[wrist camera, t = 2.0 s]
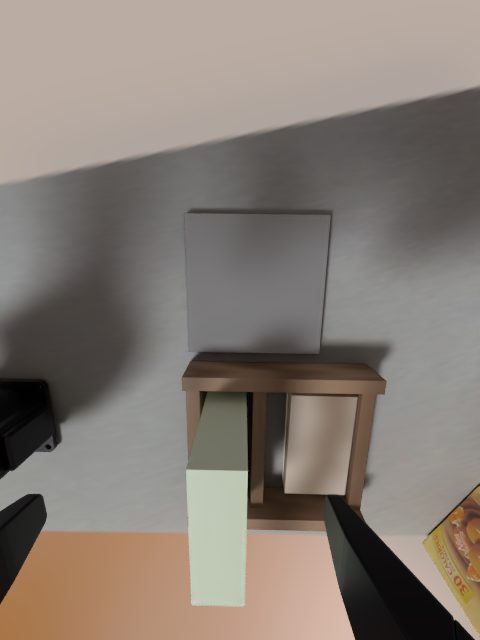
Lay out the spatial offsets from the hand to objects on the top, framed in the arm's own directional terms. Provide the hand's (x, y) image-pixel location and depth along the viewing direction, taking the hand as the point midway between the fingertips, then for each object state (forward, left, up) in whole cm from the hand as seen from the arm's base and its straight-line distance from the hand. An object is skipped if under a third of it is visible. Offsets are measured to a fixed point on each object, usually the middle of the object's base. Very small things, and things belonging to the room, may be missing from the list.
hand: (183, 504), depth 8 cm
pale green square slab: (+1, -7, -13) cm, 15 cm away
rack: (+5, -7, -13) cm, 15 cm away
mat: (+3, +6, -13) cm, 14 cm away
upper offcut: (+8, -7, -13) cm, 16 cm away
